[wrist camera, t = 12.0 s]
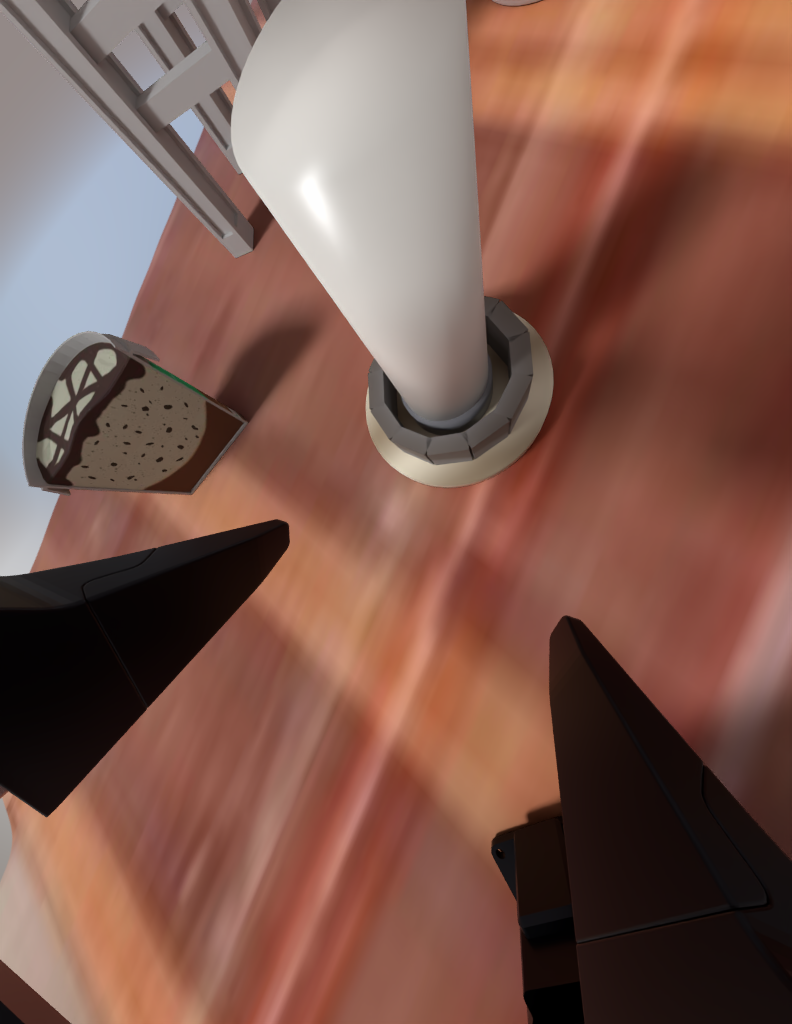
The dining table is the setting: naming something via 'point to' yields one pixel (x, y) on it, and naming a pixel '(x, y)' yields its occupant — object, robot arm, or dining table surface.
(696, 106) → the dining table surface
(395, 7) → the white smooth rounded part
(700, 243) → the dining table surface
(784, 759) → the dining table surface
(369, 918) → the dining table surface
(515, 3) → the ramekin
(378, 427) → the socket
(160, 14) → the stool
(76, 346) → the food container
